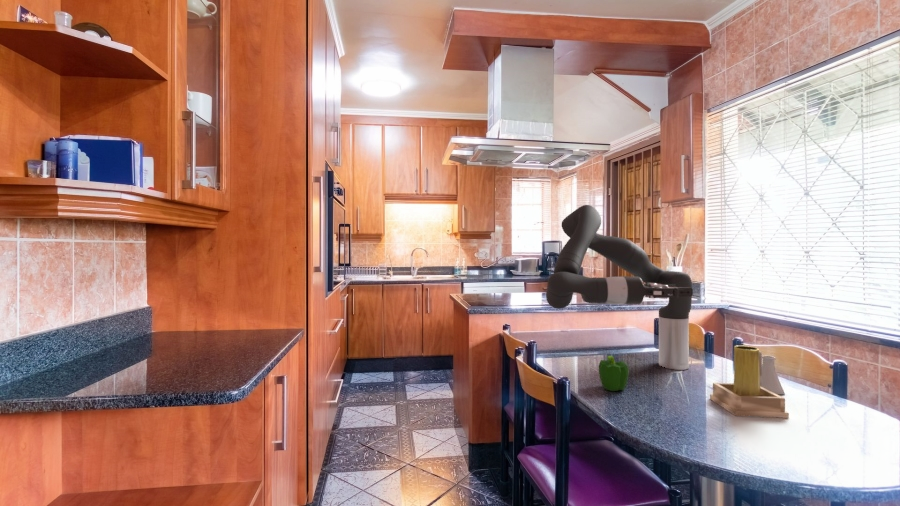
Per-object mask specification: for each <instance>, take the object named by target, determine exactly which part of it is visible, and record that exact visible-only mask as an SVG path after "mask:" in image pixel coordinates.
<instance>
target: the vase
mask: <svg viewBox="0 0 900 506" xmlns="http://www.w3.org/2000/svg"><path fill="white" fill-rule="evenodd" d="M759 351H760V349H759V348H758V347H755V346H749V345H741V344H740V345H734V347H733V383H734V388H733V393H735V394H737V395H738V396H760V369H759Z"/></svg>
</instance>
